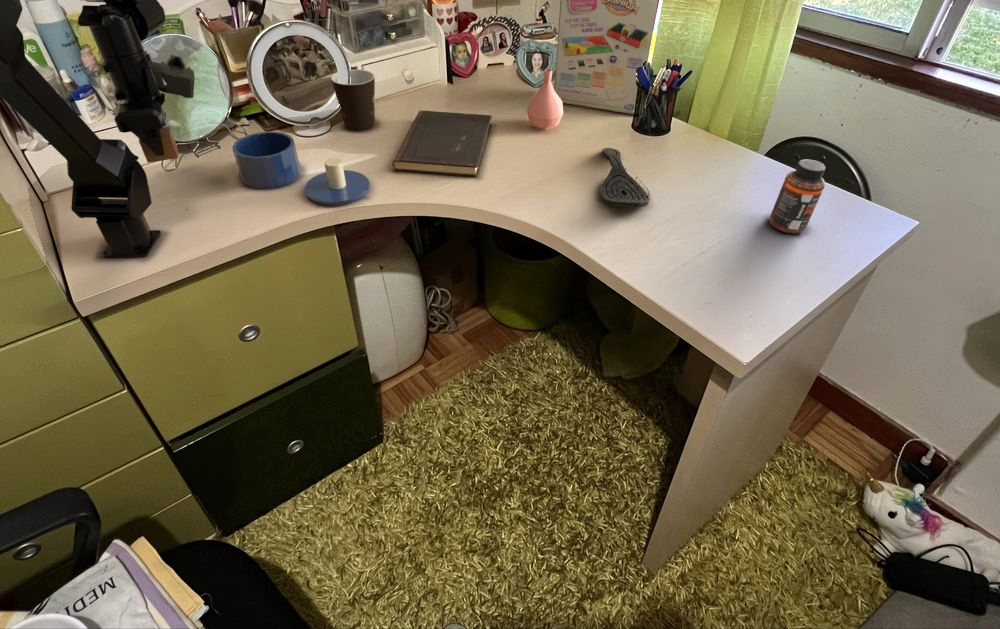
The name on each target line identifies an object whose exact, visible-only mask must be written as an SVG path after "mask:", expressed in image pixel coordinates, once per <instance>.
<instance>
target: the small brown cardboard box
mask: <svg viewBox="0 0 1000 629" xmlns="http://www.w3.org/2000/svg"><path fill="white" fill-rule="evenodd" d="M160 131H161V137H162V143H163V148H164V155H161V156H157V155H156V154H155V153H154V152H153V151H152V150H151V149H150V148H148V147H147V146H146V145H145V144H144V143H143V142H142V141H141V140H140V139H139V138H138V142H139V146H140V147H141V149H142V152H143V155H144V157H145V160H146V161H147V163H148V164H149V163H155V162H156V163H157V162H161V161H163V162H164V161H169V160H175V159H179V150H178V149H179V148H178V144H177V142H176V139H175V136H174V134H173V131H172V129H171V126H170V125H169V126H164V127H162V128H160Z"/></svg>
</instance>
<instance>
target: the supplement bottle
mask: <svg viewBox="0 0 1000 629" xmlns="http://www.w3.org/2000/svg"><path fill="white" fill-rule="evenodd" d="M825 171H826V165H825V164H824V163H823V162H821V161H818V160H814V159H808V158H807V159H805V158H804V159H801V160H799V161H798V163H797V165H796V167H795V170H792V171H790V172H788V173H787V175H786V176H785V178H784V181H783V183H782V185H781V188H780V191H779V193H778V195H777V198H776V200H775V203H774V205H773V207H772V211H771V213H770V216H769V223H770V224H771V226H772V227H773V228H775V229H776V230H778V231H780V232H783V233H786V234H799V233H801V232H802V233H803V232H804V231H805V230H806V228H807V226H808V224H809V223H810V220H811V218H812V216H813V213H814V211H815V209H816V207H817V205H818V202H819V200H820V198H821V196H822V193H823V191H824V190H825V187H826V182H825V179H824V178H823V176H824V173H825Z"/></svg>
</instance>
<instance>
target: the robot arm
mask: <svg viewBox="0 0 1000 629" xmlns="http://www.w3.org/2000/svg"><path fill="white" fill-rule="evenodd" d="M81 1H85V2H87V3H104V4H99V5H86V4H84V5H82V6H81V12H80V14H79V15H78V17H77V25H78V26H79V27H85V28H87V27H88V28H89V30H90V33H91V35H92V38H93V41H94V43H95V45H96V48H97V50H98V52H99V54H100V57H101V59H102V68H103V71H104V73H105V74H106V73H107V74H108V76H109V79H110V80H111V83H112V85H113V87H114V97H115V99H116V101H123V103H119V104H118V106H117V107H116V109H115V110H114V122H115V124H116V127H117V129H118V131H119V133H125V134H126V133H132V134H133V135H134V136H135V137H137V138H138V140H139V139H140V140H141V141H142V142H143V143H144V144H145V145H146V146H147V147H148V148H150V149H151V150H152V151H153V152H154V153H155V154H156V155H157V156H161V155H164V148H163V143H162V137H161V131H160V128H162V127H167V112H165V110H164V109H163V106H164V103H165V102H166V94H170V95H175V96H180V97H183V98H186V99H193V98H194V93H195V78H196V77H195V71H194V70H193V69H192V68H191V66H186V64H185V61H184V60H183V58H182V56H178V55H173V54H171V55H170V56H169V57H168V59H167V61H166V62H165V61H161V62H156V61H153V60H152V57H151V54H150V53H148V52H147V50H145V49H144V46H143V44H142V41H143V40H145V39H146V38H148V37H149V36H151V35H152V34H154V33H155V32H156V31H158V30H160V29H161V28H162V27H163V26H164V25H165V22H166V13H165V8H164V7H163V6H162V5H161V4H160V2H159V0H81ZM22 13H23V4H22V2H21V0H0V97H1V99H3V100H4V102H6V104H8V105H9V106H10V107H11V108H12V109H13V110H14V111H15V112H16V113H17V114H18V115H19V116H20V117H21V118H22V119H24V120H25V121H26V122H27V123H28V124H29V125H30V126H31V127H32V128H33V129H34V130H35V131H36V132H37V133H38V134H39V135H40V136H41V137H42V138H43V139H44V140H45V141H47V142H48V144H50V146H51V147H52V148H54V149H55V150H56V152H58V153H59V154H60V155H61V156H62V157H63V158H64V159H65V160H66V168H67V169H66V170H67V171H66V172H67V176H68V177H69V179H70V180H71V181H72V193H71V206H70V209H71V211H72V212H73V213H74V214H75V215H76V217H78V218H79V219H87V218H88V219H96V221H95V223H96V226H97V227H98V229H99V231H100V233H101V235H102V237H103V239H104V240H105V242H106V245H107V246H106V247H105V249H104V250H103V251H102V252H101V255H102V257H103V258H141V257H142V258H144V257H147V256H149V254H150V252H151V251H152V250H153V248H154V246H155V245H156V243H157V241H158V240H159V238H160V237H161V236H162V231H161V230H160V229H150V226H149V223H148V221H147V219H146V217H145V215H144V214H145V212H146V211H147V210H148V209H149V207H150V206H151V205H152V203H153V202H152V197H151V192H150V186H149V180H148V176H147V173H146V171H145V169H144V168H143V166H142V165H141V163H140V162H139V161H138V160H139V156H138V155H135V154H134V152H132V151H131V149H130V147H129V146H128V144H126V142H124V141H123V140H122V139H118V138H117V139H114V138H113V139H112V138H111V139H110V138H100V137H99V136H98V135H97V134H96V133H95V132H94V131H93V129H92V128H90V127H89V125H88V124H87V123H86V122H85V121H84V119H82V118H81V117H80V116H79V115H78V113H77V112H76V111H75V110H74V108H72V107H71V105H69V103H68V102H67V101H66V100H65V99H64V98H63V96H61V95H60V93H58V91H57V90H56V89H55V88H54V87H53V86H52V85H51V84H50V83H49V82H48V80H47V79H45V77H44V76H43V75H42V73H40V71H38V69H37V68H36V67H35V66H34V65H33V64H32V62H30V61H29V60H28V58H27V57H26V50H25V42H24V41H25V40H24V34H23V32H22V31H21V29H19V26H18V22H19V21H20V18H21V16H22ZM165 93H166V94H165Z"/></svg>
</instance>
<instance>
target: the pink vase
mask: <svg viewBox="0 0 1000 629" xmlns="http://www.w3.org/2000/svg"><path fill="white" fill-rule="evenodd" d="M552 75H553V69H551V68H545V69H544V72H543V82H542V84H541V85H540V87H539V89H538V91H536V92H535V93H534V94H533V95H532V96H531V97H530V99H529V100H528V102H527V109H526V113H527V118H528V122H529V124H531V126H534V127H536V128H538V129H539V130H549V129H551V128H555V127H557V126H559V124H560V122H561V119H562V117H563V114H564V106H563V104H564V103H562V100H561V99H560V98H559V96H558V95H557V94H556V93H555V91H554V85H553V84H552V78H553V77H552Z"/></svg>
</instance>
